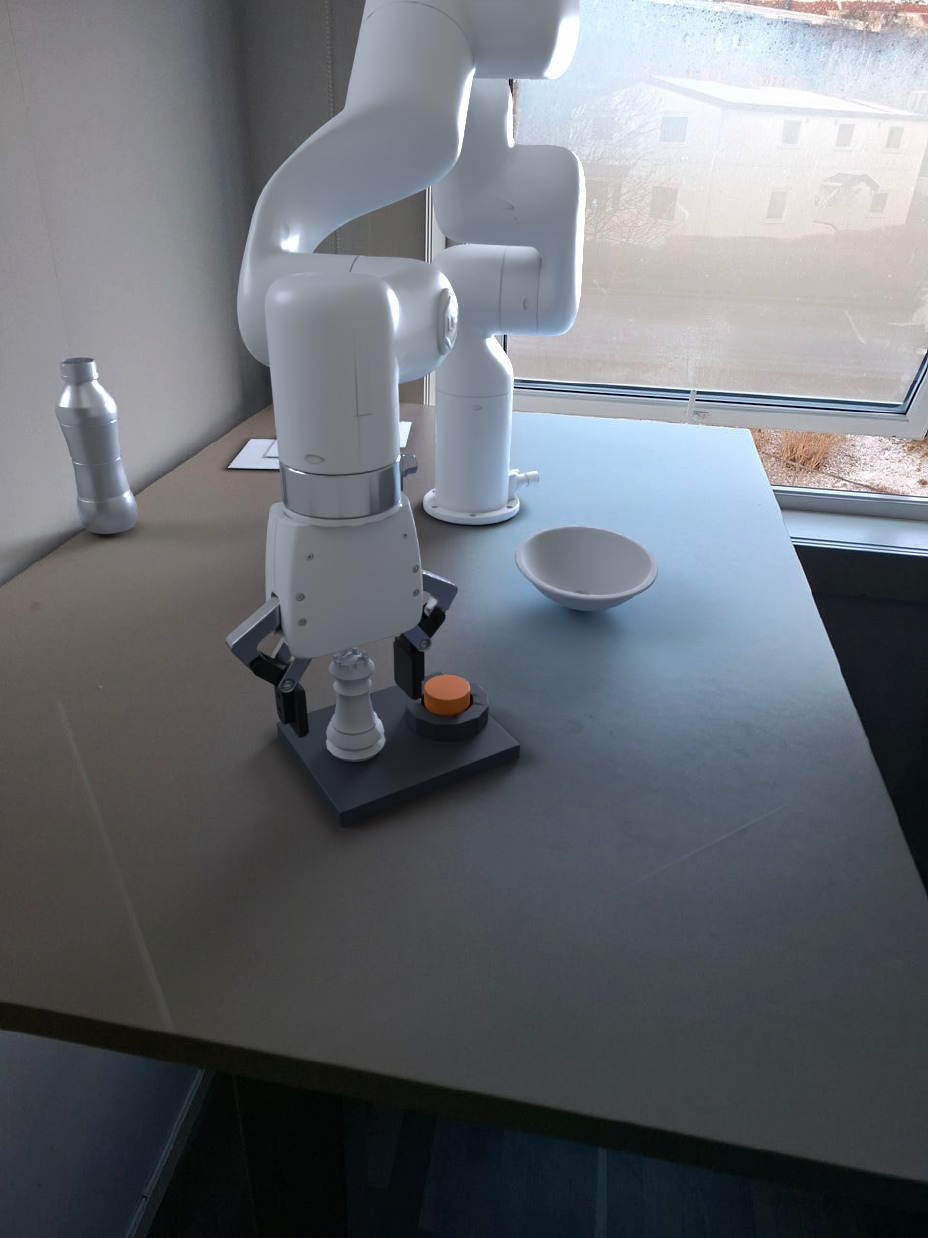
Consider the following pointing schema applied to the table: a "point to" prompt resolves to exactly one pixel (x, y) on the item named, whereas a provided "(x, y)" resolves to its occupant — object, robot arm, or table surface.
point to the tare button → (446, 695)
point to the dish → (586, 566)
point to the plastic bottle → (94, 449)
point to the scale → (401, 753)
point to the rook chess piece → (353, 709)
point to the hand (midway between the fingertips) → (353, 707)
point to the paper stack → (266, 451)
